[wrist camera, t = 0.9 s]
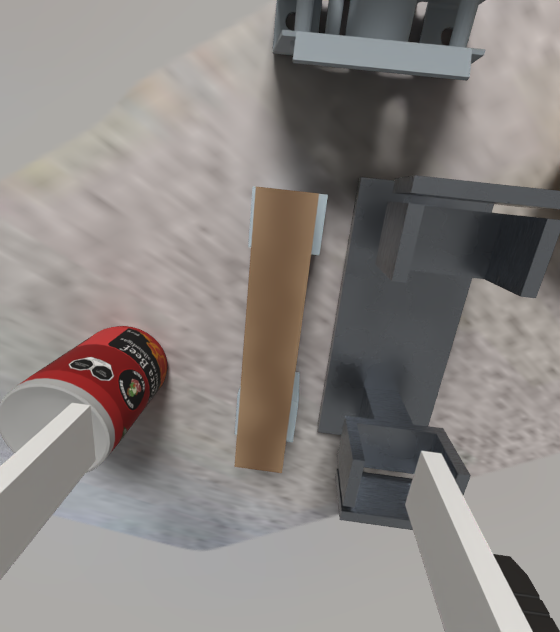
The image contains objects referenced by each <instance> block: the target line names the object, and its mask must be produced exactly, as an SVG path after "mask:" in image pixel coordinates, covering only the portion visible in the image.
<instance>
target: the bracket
mask: <svg viewBox="0 0 560 632" xmlns="http://www.w3.org/2000/svg"><path fill="white" fill-rule="evenodd" d="M484 1H485V0H350V5H349V12H348V19H347V26H346V33H345V36H342V35H339V34H340V27H341V20H342V12H343V5H344V0H329V4H328V12H327V20H326V28H325V34H322V33H318V31H319V23H320V14H321V6H322V0H277V5H276V17H275V29H274V41H273V53H275V54H285V55H293V63H298V64H308V65H318V66H328V67H338V68H348V69H358V70H367V71H377V72H387V73H397V74H407V75H417V76H427V77H437V78H447V79H456V80H466V81H467V80H468V79H469V77H470V67H471V64H472V63H473V62H475V61H476V60H477V59H479V58H480V57H482V56H483V55H484V53H485V50H484V49H474V48H466V46H467V43H468V39H469V36H470V32H471V29H472V25H473V22H474V19H475V15H476V12H477V8H478V5H479V4H481V3H482V2H484ZM419 2H428V4H427V8H426V12H425V17H424V22H423V27H422V32H421V37H420V42H419V43H414V42H408V40H409V35H410V31H411V26H412V21H413V17H414V12H415V8H416V4H418V3H419ZM291 13H296V17H295V28H294V30H290V29H288V28H287V26H286V18H287V17H288V15H290V14H291ZM447 28H451V29H453V32H452V35H451V39H450V43H449V45H448V46H447V45H444V44H443V43H442V41H441V34H442V32H443V30H445V29H447Z"/></svg>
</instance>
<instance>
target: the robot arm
mask: <svg viewBox="0 0 560 632" xmlns="http://www.w3.org/2000/svg"><path fill="white" fill-rule="evenodd" d="M95 461H96V458H95V447H94V436H93V425H92V414H91V405H85V404H78V403H71V404H70V405H69V406H68V407H67V408H66V409H64V410H63V411H62V412H61V413H60V414H59V415H58V416H57V417H55V418H54V419H53V420H52V421H51V422H50V423H49V424H48V425H46V426H45V427H44V428H43V429H42V430H41V431H40V432H39V433H37V434H36V435H35V436H34V437H33V438H32V439H31V440H29V441H28V442H27V443H26V444H25V445H24V446H23V447H22V448H20V449H19V450H18V451H17V452H16V453H15V454H14V455H13V456H11V457H10V458H9V459H8V460H7V461H6V462H5V463H4V464H2V465H1V466H0V580H1V578H2V577H3V576H4V575H5V574H6V572H7V571H8V570H9V569H10V567H11V566H12V564H14V562H15V561H16V559H17V558H18V557H19V556H20V554H21V553H22V552H23V551H24V550H25V548H26V547H27V546H28V545H29V543H30V542H31V541H32V540H33V538H34V537H35V536H36V535H37V533H38V532H39V531H40V530H41V528H42V527H43V526H44V525H45V523H46V522H47V521H48V520H49V518H50V517H51V516H52V515H53V513H54V512H55V511H56V510H57V508H58V507H59V506H60V504H61V503H62V502H63V501H64V499H65V498H66V497H67V496H68V494H69V493H70V492H71V491H72V489H73V488H74V487H75V486H76V484H77V483H78V482H79V481H80V479H81V478H82V477H83V476H84V474H85V473H86V472H87V471H88V469H89V468H90V467H91V466H92V464H93V463H94V462H95ZM405 506H406V509H407V512H408V516H409V519H410V522H411V525H412V528H413V532H414V535H415V538H416V541H417V544H418V548H419V551H420V554H421V557H422V560H423V564H424V567H425V570H426V573H427V576H428V580H429V583H430V586H431V589H432V592H433V596H434V599H435V602H436V605H437V608H438V611H439V614H440V618H441V621H442V624H443V627H444V631H445V632H560V631H559V629H558V627H557V626H556V624H555V622H554V621H553V619H552V618H550V615H549V612H548V610H547V608H546V607H545V605H544V603H543V601H542V600H540V598H539V594H538V593H537V591H536V589H535V587H534V586H533V584H532V582H531V580H530V579H529V577H528V575H527V574H526V573H525V572H524V571H523V570H522V569H521V568H520V567H519V565H518V564H517V563H516V562H515V561H514V560H513V559H512V558H511V557H510V556H503V555H496V554H493V553H492V551H491V550H490V548H489V546H488V544H487V542H486V540H485V538H484V536H483V534H482V532H481V530H480V528H479V526H478V524H477V522H476V520H475V518H474V516H473V514H472V513H471V511H470V509H469V507H468V505H467V503H466V501H465V499H464V497H463V495H462V493H461V491H460V489H459V487H458V485H457V483H456V481H455V479H454V477H453V475H452V474H451V472H450V470H449V468H448V466H447V464H446V462H445V460H444V458H443V456H442V454H441V453H434V452H427V451H421V453H420V456H419V460H418V463H417V466H416V470H415V473H414V476H413V480H412V483H411V486H410V490H409V493H408V496H407V500H406V503H405Z"/></svg>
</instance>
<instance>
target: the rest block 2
mask: <svg viewBox="0 0 560 632" xmlns="http://www.w3.org/2000/svg"><path fill="white" fill-rule="evenodd" d="M299 376H300V373H299V372H295V378H294V386H293V393H292V400H291V408H290V415H289V423H288V430H287V438H286V441H287V442H293V437H294V430H295V423H296V416H297V409H298V401H299ZM240 389H241V386H240ZM240 389H239V392H238V396H237V410H236V424H235V435H237V429H238V415H239V402H240Z"/></svg>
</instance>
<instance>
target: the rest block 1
mask: <svg viewBox="0 0 560 632" xmlns="http://www.w3.org/2000/svg"><path fill="white" fill-rule="evenodd" d="M255 190H256V187H253V190H252V204H251V218H250V231H249V245H248V247H251V243H252V230H253V216H254V203H255ZM327 198H328V195H325V194H319V199H318V206H317V214H316V221H315V229H314V236H313V244H312V251H311V254H312V255H319V254H320V247H321V240H322V233H323V226H324V219H325V212H326V205H327Z"/></svg>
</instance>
